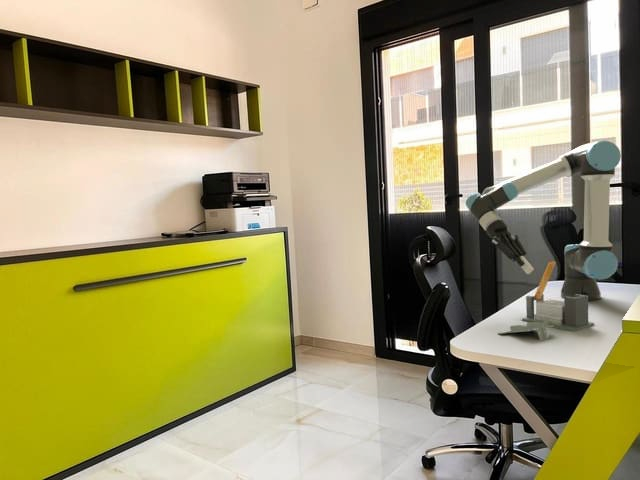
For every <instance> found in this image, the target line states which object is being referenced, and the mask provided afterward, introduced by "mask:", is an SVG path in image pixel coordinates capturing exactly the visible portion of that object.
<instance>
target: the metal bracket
mask: <svg viewBox="0 0 640 480" xmlns="http://www.w3.org/2000/svg"><path fill="white" fill-rule="evenodd" d="M553 326H554V325H553ZM551 327H552V326H549V324H548V321H544V322H542V323H540V322H527V323H526V325H523V324H517V325H515V324H514V325H510V327H509V328H510V330H505V331H502V332H497V335H504V334H509V333H519V332H520V333H521V332H522V333H523V332H531V331H536V330H537V331H536V332H537V334H538V338H539V341H543V340H547V339H549V335H548V331H547V328H551ZM552 328H553V327H552Z"/></svg>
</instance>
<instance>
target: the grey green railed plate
mask: <svg viewBox="0 0 640 480" xmlns="http://www.w3.org/2000/svg"><path fill="white" fill-rule="evenodd" d="M521 320H522V321H523V322H527V323H530V322H540V323H542V322H543V321H538V320H535V314H534V318H529V317H527V316H526V317H522V318H521ZM548 324H549V326H552V328H555V329H559V330H564V331H569V332H575V331H579V330H583V329H586V328H589V327H593V326H595V322H591V321H588V324H586V325H583V326H579V327H572V326H567V325H557V324H552V323H548ZM553 325H554V326H553Z"/></svg>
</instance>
